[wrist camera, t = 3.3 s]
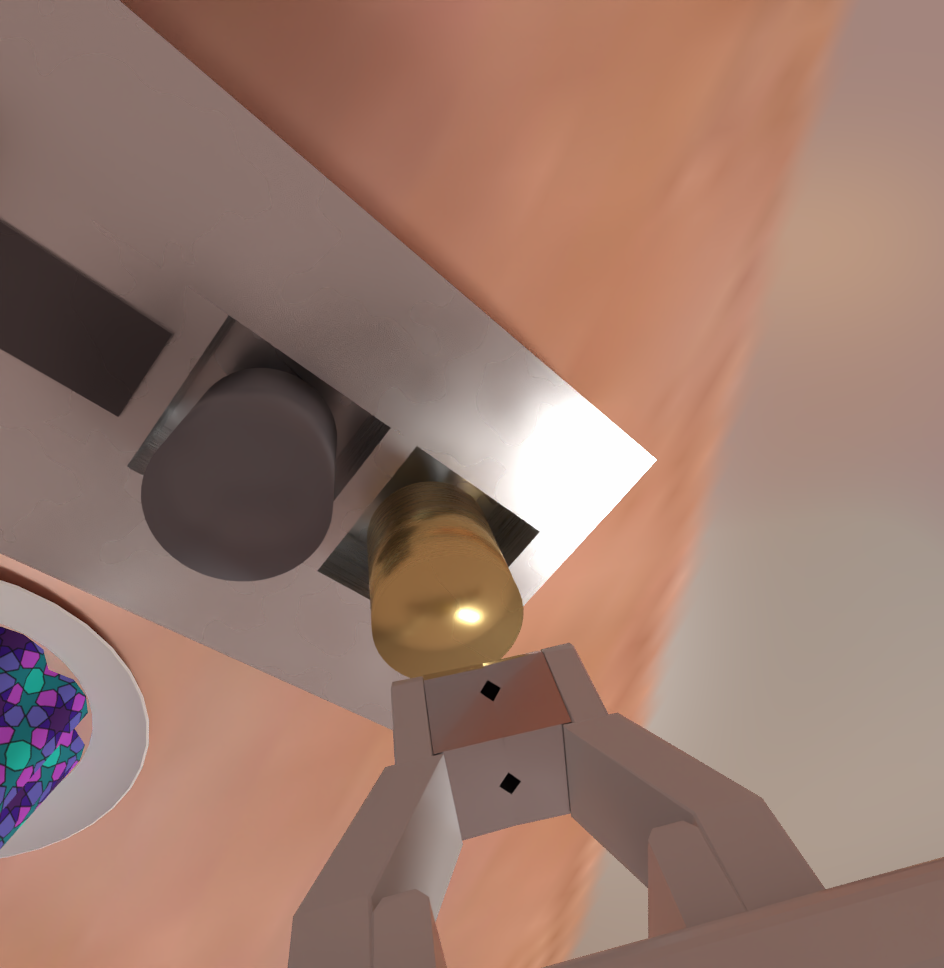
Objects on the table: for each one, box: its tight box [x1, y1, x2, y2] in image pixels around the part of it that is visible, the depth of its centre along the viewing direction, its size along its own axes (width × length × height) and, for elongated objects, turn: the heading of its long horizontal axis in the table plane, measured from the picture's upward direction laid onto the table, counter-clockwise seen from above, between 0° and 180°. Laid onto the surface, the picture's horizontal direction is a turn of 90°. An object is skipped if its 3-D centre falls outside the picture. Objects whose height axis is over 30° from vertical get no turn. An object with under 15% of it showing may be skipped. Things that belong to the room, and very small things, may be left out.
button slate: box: [141, 368, 337, 582], centre depth 11 cm, size 3×3×4 cm
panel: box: [0, 0, 656, 730], centre depth 14 cm, size 10×18×5 cm, turn 50°
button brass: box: [367, 481, 523, 678], centre depth 13 cm, size 3×3×4 cm
